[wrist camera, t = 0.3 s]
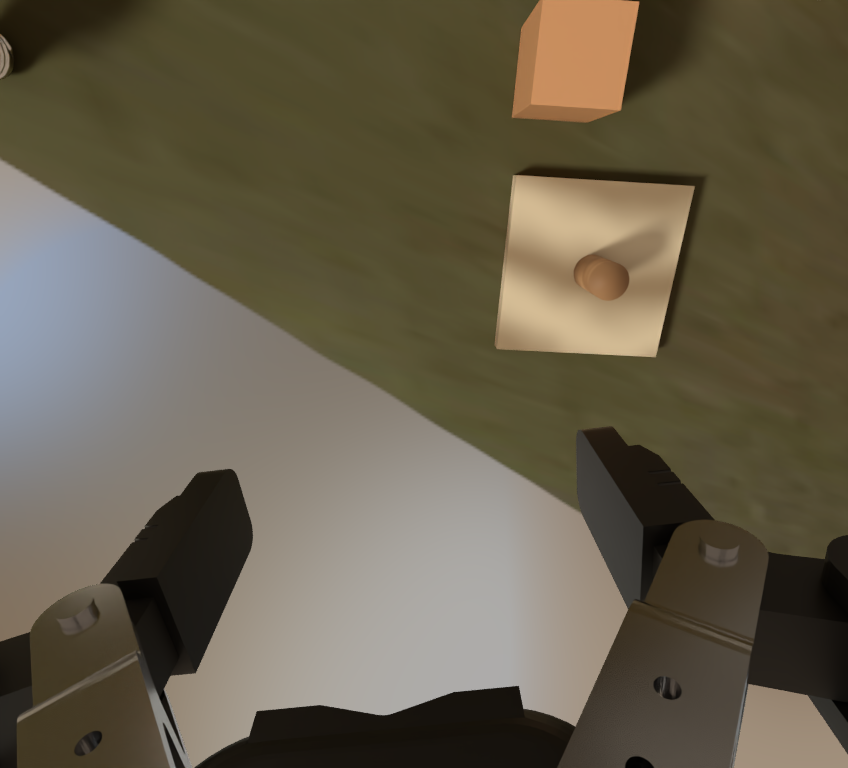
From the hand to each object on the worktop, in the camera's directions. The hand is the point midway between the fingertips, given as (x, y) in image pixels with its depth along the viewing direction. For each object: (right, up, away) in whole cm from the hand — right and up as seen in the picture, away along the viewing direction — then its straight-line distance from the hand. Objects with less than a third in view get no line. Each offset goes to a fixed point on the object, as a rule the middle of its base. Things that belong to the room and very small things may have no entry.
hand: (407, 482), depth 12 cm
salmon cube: (+9, +22, +21) cm, 32 cm away
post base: (+12, +11, +25) cm, 30 cm away
